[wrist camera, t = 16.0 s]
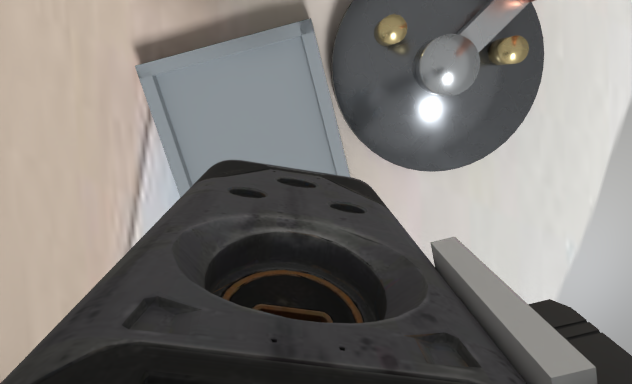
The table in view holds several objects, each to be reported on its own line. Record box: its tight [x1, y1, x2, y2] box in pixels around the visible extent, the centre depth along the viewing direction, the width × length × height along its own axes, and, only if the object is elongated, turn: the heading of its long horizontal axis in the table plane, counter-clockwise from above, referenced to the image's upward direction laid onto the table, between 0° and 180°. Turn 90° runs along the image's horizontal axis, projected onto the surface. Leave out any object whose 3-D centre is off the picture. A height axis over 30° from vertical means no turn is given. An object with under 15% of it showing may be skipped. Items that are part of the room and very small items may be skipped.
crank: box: [413, 0, 535, 96], centre depth 32 cm, size 11×4×7 cm, turn 135°
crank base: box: [331, 0, 544, 171], centre depth 35 cm, size 17×17×4 cm
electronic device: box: [0, 160, 527, 384], centre depth 14 cm, size 9×6×20 cm, turn 80°
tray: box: [135, 18, 350, 197], centre depth 37 cm, size 14×16×2 cm
